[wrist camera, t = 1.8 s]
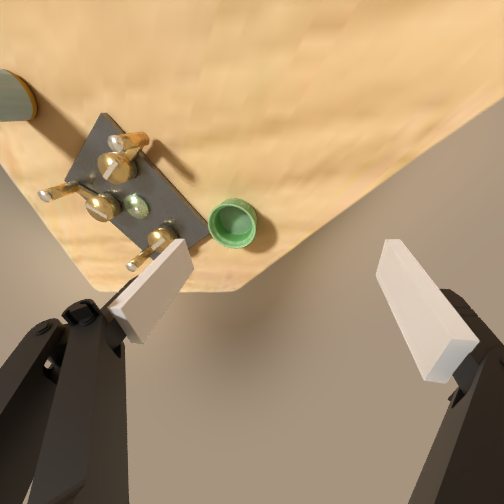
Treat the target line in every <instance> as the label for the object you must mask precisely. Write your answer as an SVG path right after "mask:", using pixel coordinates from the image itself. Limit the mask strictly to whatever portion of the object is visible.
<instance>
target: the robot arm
mask: <svg viewBox="0 0 504 504" xmlns="http://www.w3.org/2000/svg"><path fill="white" fill-rule="evenodd" d="M193 270H194V266H193V263H192V260H191V257H190V254H189V251H188V247H187V244H186V241H185V239H175V240H174V241H173V242H172V243H171V244H170V245H169V246H168V247H167V248H166V249H165V250H164V251H163V252H162V253H161V254H160V255H159V256H158V257H157V258H156V259H155V260H154V261H153V262H152V263H151V264H150V265H149V266H148V267H147V268H146V269H145V270H144V271H143V272H142V273H141V274H140V275H138V276H136V277H134V278H133V279H131V280H130V281H129V282H128V283H127V284H126V285H125V286H124V288H122V289H121V290H120V291H119V292H118V293H117V294H115V295H114V297H112V298H111V299H110V300H109V301H108V302H107V303H106V304H105V305H104V306H103V307H102V308H101V309H99V308H98V306H97V305H96V304H95V302H94V301H93V300H91V299H84V300H81V301H78V302H76V303H74V304H72V305H71V306H69V307H68V308H67V309H66V310H65V311H64V312H63V313H62V317H63V318H64V319H65V320H66V321H67V322H68V324H62V323H61V322H60V321H59V320H58V319H55V318H53V319H48V320H46V321H43V322H41V323H39V324H37V325H36V326H35V327H33V328H32V329H31V330H30V331H29V332H28V333H27V334H26V335H25V337H24V338H23V339H22V341H21V342H20V343H19V345H18V346H17V347H16V349H15V350H14V351H13V352H12V354H11V355H10V356H9V358H8V359H7V360H6V362H5V363H4V364H3V366H2V367H1V368H0V504H22V503H23V501H24V499H25V496H26V494H27V492H28V489H29V487H30V484H31V482H32V480H33V483H32V487H31V491H30V495H29V499H28V503H27V504H129V493H128V491H129V489H128V453H127V452H128V451H127V413H126V377H125V376H126V374H125V345H124V342H123V340H124V338H125V337H126V336H127V337H128V339H129V340H130V342H131V343H138V344H144V342H145V341H146V339H147V338H148V336H149V335H150V333H151V332H152V331H153V329H154V328H155V326H156V325H157V323H158V321H159V320H160V319H161V317H162V316H163V314H164V313H165V311H166V310H167V308H168V307H169V305H170V304H171V303H172V301H173V300H174V298H175V297H176V295H177V294H178V292H179V291H180V289H181V288H182V286H183V285H184V283H185V282H186V280H187V279H188V278H189V276H190V275H191V273H192V272H193ZM376 277H377V279H378V282H379V284H380V286H381V289H382V291H383V293H384V295H385V297H386V299H387V301H388V304H389V306H390V308H391V310H392V312H393V315H394V317H395V319H396V321H397V323H398V325H399V328H400V329H401V332H402V334H403V336H404V338H405V341H406V343H407V345H408V347H409V349H410V351H411V353H412V356H413V358H414V360H415V362H416V364H417V367H418V369H419V371H420V373H421V375H422V377H423V380H424V381H431V382H439V383H447V382H448V381H449V379H450V378H451V377H452V376H454V378H455V380H456V382H457V384H458V385H459V387H458V388H457V389H456V390H455V391H454V392H453V394H452V395H451V396H450V397H449V398H448V400H449V401H451V402H450V404H449V407H448V409H447V412H446V414H445V416H444V419H443V421H442V424H441V426H440V428H439V431H438V433H437V436H436V438H435V440H434V443H433V445H432V447H431V450H430V452H429V455H428V457H427V459H426V463H425V464H424V467H423V469H422V471H421V474H420V476H419V479H418V481H417V483H416V486H415V488H414V490H413V493H412V495H411V498H410V500H409V503H408V504H504V345H503V344H502V343H501V342H500V341H499V339H498V338H497V337H496V336H495V335H494V333H493V332H492V331H491V330H490V329H489V328H488V327H487V325H486V324H485V323H484V322H483V321H482V320H481V319H480V318H479V317H478V315H477V314H476V313H475V312H474V311H473V309H471V307H470V306H469V305H468V304H467V303H466V302H465V300H464V299H463V298H462V297H460V296H459V295H457V294H456V293H455V292H453V291H451V290H450V289H439V288H438V287H437V286H436V285H435V283H434V282H433V281H432V280H431V278H430V277H429V276H428V274H427V273H426V272H425V271H424V269H423V268H422V267H421V266H420V264H419V263H418V262H417V260H416V259H415V258H414V257H413V255H412V254H411V253H410V252H409V250H408V249H407V248H406V246H405V245H404V244H403V243H402V242H401V240H400V239H389V240H387V239H386V240H385V243H384V247H383V251H382V254H381V258H380V261H379V265H378V268H377V272H376ZM46 360H49V361H50V362H51V363H52V364H51V365H50V367H49V368H46V367H45V366H44V364H45V362H46ZM33 478H34V479H33Z"/></svg>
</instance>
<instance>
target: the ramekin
mask: <svg viewBox="0 0 504 504" xmlns="http://www.w3.org/2000/svg"><path fill="white" fill-rule="evenodd" d="M256 225H257V216H256V213H255V211H254V209H253V207H252V206H251V205H250V204H249V203H247V202H246V201H243V200H240V199H229V200H226V201H225V202H223V203H222V204H221V205H219V206H217V207H215V208H214V209H213V210H212V212H211V213H210V215H209V218H208V228H209V231H210V234H211V235H212V237H213V238H214V239H215V240H216V241H217V242H218V243H220V244H221V245H223V246H225V247H228V248H233V249H238V248H243V247H245V246H247V245H249V244H250V243H251V242H252V241H253V239H254V237H255V234H256Z"/></svg>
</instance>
